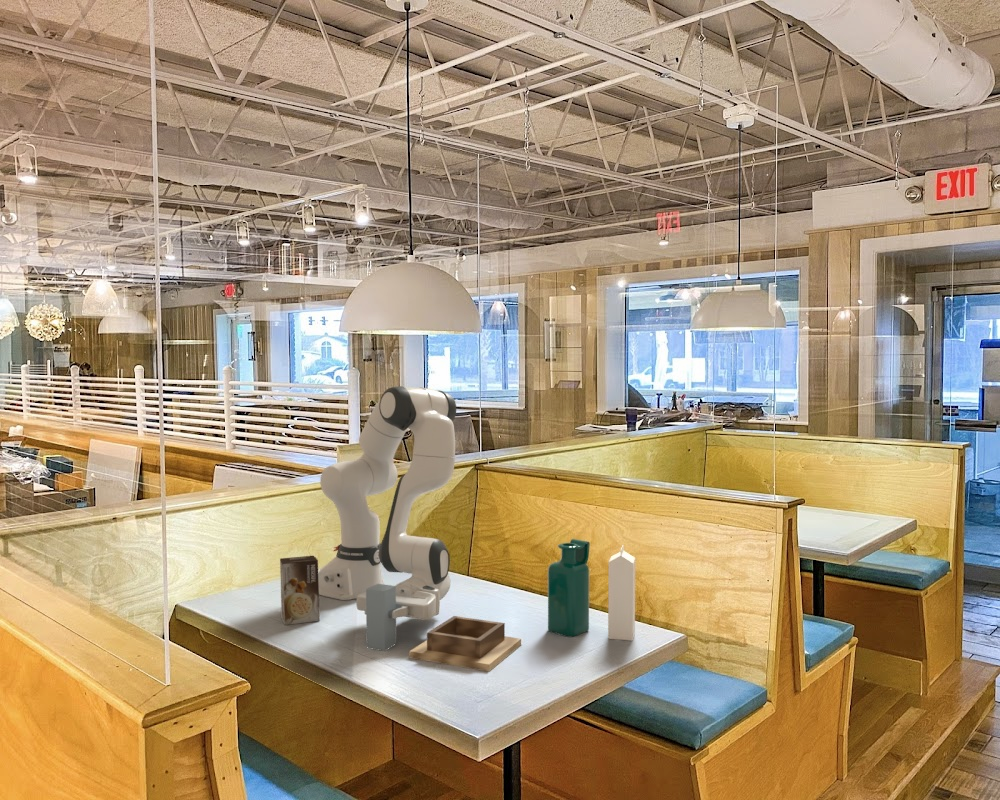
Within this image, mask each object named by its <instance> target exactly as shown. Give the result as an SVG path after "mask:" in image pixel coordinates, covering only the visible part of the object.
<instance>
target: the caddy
mask: <svg viewBox="0 0 1000 800" xmlns="http://www.w3.org/2000/svg"><path fill="white" fill-rule="evenodd" d="M505 626H506V625H505V622H498V621H493V620H492V621H491V620H487V619H486V620H485V619H478V618H471V617H464V616H458V615H453V616H452V617H450V618H448V619H447V620H445V621H444V622H442V623H440V624H438V625H437V626H436V627H434V628H432V629H431V630H428V631H427V632H426V640H425V641H423V642H421V643H420V644H419V645H417V646H415V647H413V648H412V649H411V650H409V657H408V658H409V659H415V660H420V661H427V662H432V663H433V662H434V663H436V664H437V663H438V664H444V665H450V666H456V667H462V668H468V669H474V670H480V671H485V672H486V671H487V672H490V671H491V670H493V669H494V668H495V667H496V666H498V665H499V664H500V663H501V662H503V661H504V659H506V658H507V657H508V656H510V655H511V654H512V653H514V651H516V650H517V649H518V648H519V647H521V646H522V638H520V637H519V638H517V637H511V636H506V634H505V628H506V627H505Z"/></svg>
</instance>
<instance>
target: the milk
mask: <svg viewBox="0 0 1000 800" xmlns="http://www.w3.org/2000/svg"><path fill="white" fill-rule="evenodd" d="M607 577H608V578H607V579H608V584H607V585H608V586H607V587H608V593H607V594H608V595H607V596H608V598H607V599H608V606H607V611H608V613H607V614H608V615H607V616H608V617H607V618H608V619H607V621H608V622H607V626H608V627H607V639H609V640H621V641H634V637H635V633H636V557H635V556H633V555H631V554H630V553H628V552H627V551H625V550H624V545H622V546H621V548H620V551H619V552H617V553H615V554H613V555H611V557H610V558H609V559H608V576H607Z"/></svg>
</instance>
